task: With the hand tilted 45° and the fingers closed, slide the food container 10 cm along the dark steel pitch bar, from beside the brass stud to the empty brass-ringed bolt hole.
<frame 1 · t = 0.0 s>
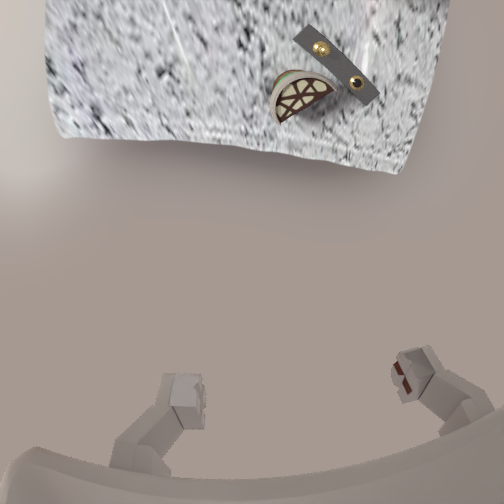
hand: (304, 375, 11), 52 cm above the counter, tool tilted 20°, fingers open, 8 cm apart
food container: (288, 80, 48), on the counter
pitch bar: (338, 65, 45), on the counter
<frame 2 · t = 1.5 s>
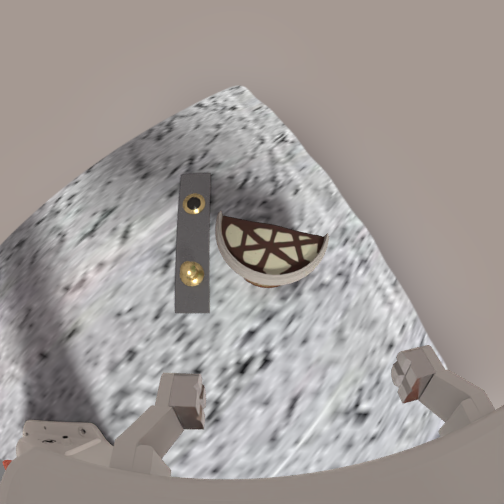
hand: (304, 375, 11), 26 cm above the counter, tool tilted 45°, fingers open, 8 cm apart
food container: (263, 273, 38), on the counter
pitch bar: (193, 239, 39), on the counter
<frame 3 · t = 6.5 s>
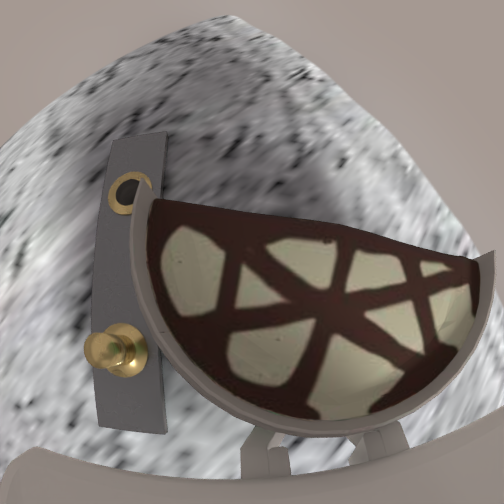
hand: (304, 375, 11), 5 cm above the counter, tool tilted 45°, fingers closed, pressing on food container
food container: (283, 341, 16), on the counter, touching gripper
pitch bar: (127, 269, 17), on the counter
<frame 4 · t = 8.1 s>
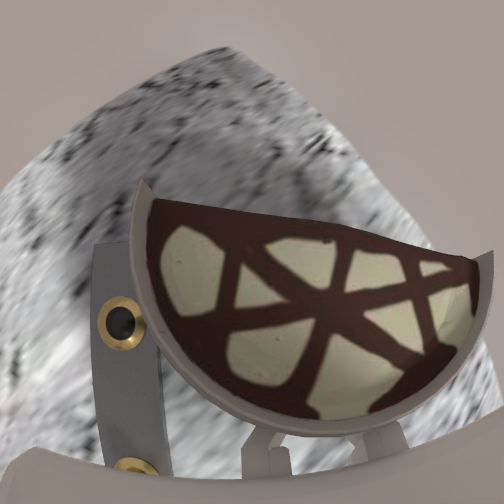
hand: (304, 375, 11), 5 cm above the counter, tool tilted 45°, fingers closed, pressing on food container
food container: (283, 341, 16), on the counter, touching gripper
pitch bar: (130, 404, 15), on the counter
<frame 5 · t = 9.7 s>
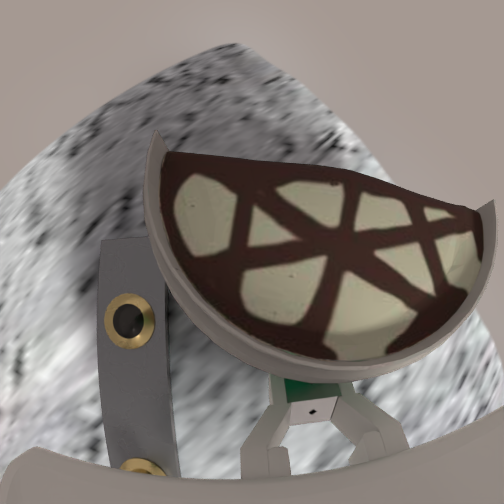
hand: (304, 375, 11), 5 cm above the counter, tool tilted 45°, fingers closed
food container: (291, 309, 16), on the counter
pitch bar: (137, 404, 14), on the counter
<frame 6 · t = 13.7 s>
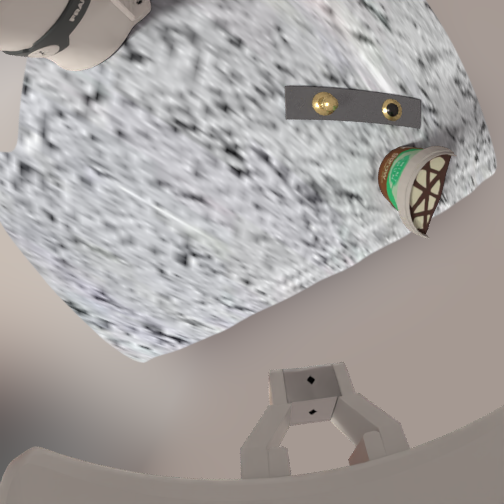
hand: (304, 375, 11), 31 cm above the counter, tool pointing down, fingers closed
food container: (389, 171, 38), on the counter
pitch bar: (358, 106, 34), on the counter
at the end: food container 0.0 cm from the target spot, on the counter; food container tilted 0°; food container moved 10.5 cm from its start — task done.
